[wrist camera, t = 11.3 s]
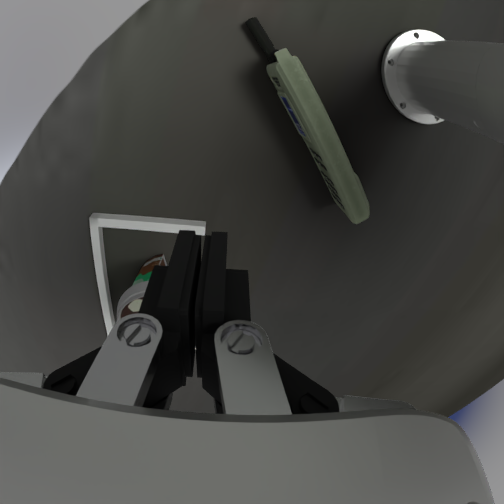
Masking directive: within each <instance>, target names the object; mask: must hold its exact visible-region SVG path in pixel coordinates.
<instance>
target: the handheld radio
mask: <svg viewBox="0 0 504 504" xmlns="http://www.w3.org/2000/svg"><path fill="white" fill-rule="evenodd" d="M246 24H247V26H248V27H249V29H250V31H251V32H252V34H253V35H254V37H255V38H256V40H257V42H258V43H259V45H260V47H261V48H262V50H263V51H264V52H265V53H266V55H267V57H268V60H269V62H270V63H271V64H268V65H267V67H266V70H267V73H268V75H269V77H270V79H271V81H272V82H273V84H274V86H275V88H276V90H277V91H278V93H277V95H278V96H279V98H280V99H281V101H282V103H283V105H284V107H285V108H286V110H287V112H288V114H289V116H290V118H291V119H292V121H293V123H294V125H295V127H296V129H297V131H298V133H299V135H301V136H302V138H303V140H304V142H305V143H306V145H307V147H308V148H309V150H310V152H311V154H312V156H313V158H314V160H315V162H316V164H317V166H318V168H319V170H320V172H321V174H322V176H323V178H324V180H325V183H326V185H327V187H328V189H329V191H330V193H331V195H332V197H333V199H334V201H335V203H336V204H337V205H338V206H339V207H340V209H341V210H342V211H343V212H344V213H345V214H346V216H347V217H348V218H349V219H350V221H351V222H352V223H354V224H359V223H360V222H362V221H364V220H365V219H367V218H368V217H369V214H370V212H369V208H370V207H369V202H368V200H367V197H366V195H365V192H364V190H363V187H362V184H361V182H360V180H359V177H358V175H357V174H355V173H354V171H353V169H352V166H351V164H350V162H349V159H348V157H347V155H346V153H345V150H344V148H343V146H342V144H341V141H340V139H339V137H338V135H337V133H336V131H335V128H334V126H333V124H332V122H331V120H330V118H329V116H328V114H327V112H326V110H325V108H324V106H323V104H322V102H321V100H320V98H319V96H318V94H317V92H316V90H315V88H314V86H313V84H312V82H311V80H310V78H309V77H308V75H307V73H306V71H305V69H304V67H303V66H302V64H301V62H300V60H299V59H298V57H296V56H291V54H290V53H289V52H288V50H287V49H286V48H284V49H281V50H275V48H274V47H273V46H274V45H273V44H272V42H271V40H270V39H269V37H268V35H267V34H266V32H265V31H264V29H263V27H262V26H261V24H260V23H259V21H258V19H257V18H256V17H255V18H250V19H249V20H247V21H246Z"/></svg>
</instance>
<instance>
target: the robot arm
mask: <svg viewBox="0 0 504 504" xmlns="http://www.w3.org/2000/svg"><path fill="white" fill-rule="evenodd" d="M413 35H414V36H413ZM388 61H389V64H388ZM381 74H382V82H383V85H384V89H385V92H386V94H387V96H388V98H389V100H390V101H391V103H392V104H393V106H394V107H395V108H396V109H397V110H398V111H399V112H400V113H401V114H402V115H404V116H405V117H406V118H408V119H410V120H413V121H415V122H418V123H421V124H428V125H429V124H437V123H440V122H442V121H444V120H447V121H449V122H452V123H454V124H457V125H460V126H462V127H465V128H467V129H470V130H472V131H474V132H477V133H479V134H481V135H484V136H486V137H488V138H491V139H493V140H495V141H497V142H499V143H502V144H504V44H503V43H491V42H477V41H446V40H445V39H443V38H442V37H441V36H439V35H437V34H436V33H433V32H431V31H428V30H422V29H414V30H408V31H404V32H402V33H400V34H398V35H397V36H396V37H395V38H393V39H392V41H391V42H390V43H389V45H388V46H387V48H386V50H385V52H384V55H383V59H382V68H381ZM400 104H401V106H400ZM226 254H227V232H212V235H211V236H208V235H206V236H205V242H204V249H203V255H202V261H201V235H196V233H195V231H192V230H179V233H178V236H177V239H176V243H175V246H174V249H173V253H172V256H171V259H170V263H169V266H163V265H155V266H154V268H153V270H152V273H151V276H150V279H149V282H148V285H147V288H146V291H145V294H144V297H143V300H142V303H141V306H140V309H139V312H138V313H137V314H130V315H127V316H125V317H123V318H121V319H120V320H118V321H117V322H116V324H115V325H114V326H113V328H112V330H111V331H110V333H109V335H108V337H107V338H106V340H105V342H104V344H103V346H101V347H99V348H97V349H96V350H94V351H92V352H90V353H88V354H86V355H84V356H82V357H80V358H78V359H76V360H74V361H73V362H71V363H69V364H67V365H65V366H63V367H61V368H59V369H57V370H55V371H54V372H52V373H51V374H50V375H49V376H45V375H44V373H14V372H0V504H494V500H493V497H492V493H491V489H490V486H489V484H488V481H487V478H486V475H485V472H484V469H483V467H482V464H481V462H480V459H479V457H478V455H477V453H476V450H475V448H474V447H473V445H472V443H471V441H470V439H469V437H468V436H467V434H466V433H465V431H464V430H463V429H462V428H461V426H459V425H458V424H457V423H456V422H455V421H453V420H452V419H450V418H448V417H445V416H443V415H439V414H436V413H432V412H427V411H422V410H416V409H415V408H414V407H413V406H412V405H410V404H409V403H407V402H403V401H396V400H384V399H374V398H364V397H355V396H347V395H344V396H343V398H336V397H334V395H332V394H331V393H330V392H329V391H328V390H326V389H325V388H323V387H322V386H320V385H319V384H317V383H316V382H314V381H313V380H311V379H310V378H308V377H307V376H305V375H304V374H302V373H301V372H300V371H298V370H297V369H295V368H294V367H292V366H291V365H289V364H288V363H287V362H285V361H284V360H282V359H281V358H279V357H278V356H277V355H275V354H274V353H273V352H272V349H271V345H270V342H269V339H268V336H267V334H266V332H265V331H264V330H263V329H262V328H261V327H260V326H259V325H257V324H255V323H253V322H251V317H250V299H249V280H248V270H233V269H226ZM195 348H196V361H197V377H200V378H202V386H203V389H205V390H206V391H207V392H208V393H209V394H210V395H211V396H212V397H213V398H214V408H215V414H210V413H194V412H182V411H171V410H169V408H170V405H171V401H172V396H173V393H172V392H174V391H175V390H177V389H178V388H180V387H181V386H185V385H186V377H192V376H193V367H194V357H195Z"/></svg>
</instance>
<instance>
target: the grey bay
mask: <svg viewBox="0 0 504 504" xmlns="http://www.w3.org/2000/svg"><path fill="white" fill-rule="evenodd" d="M89 222H90V232H91V241H92V249H93V257H94V264H95V270H96V277H97V283H98V289H99V295H100V300H101V306H102V311H103V316H104V321H105V326H106V330H107V335H109V333H110V331H111V330H112V328H113V326H114V325H115V320H114V314H113V308H112V302H111V296H110V289H109V283H108V275H107V268H106V259H105V250H104V241H103V230H102V227H109V228H121V229H134V230H146V231H158V232H170V233H179V230H192V231H195V233H196V235H205V229H206V221H196V220H184V219H172V218H160V217H147V216H134V215H120V214H106V213H92V215H91V216H90V217H89ZM195 349H196V348H195Z"/></svg>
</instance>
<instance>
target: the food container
mask: <svg viewBox="0 0 504 504" xmlns="http://www.w3.org/2000/svg"><path fill="white" fill-rule="evenodd" d="M155 265H163V266H167V264H166V261H165V257H164V254H161V255H156V256H154V257H152V258H151V259H149V260H147V261H146V262H145V264H144V265H143V266H142V267H141V269H140V271H139V273H138V275H137V277H136V279H135V281H134V283H133V285H132V287H130V288H129V289H128V290H126V291H125V292H124V293H123V295H122V296H121V298H120V300H119V302H118V306H117V321H118V320H120V319H121V318H123V317H125V316H127V315H130V314H137V313H138V312H139V309H140V306H141V303H142V300H143V297H144V294H145V291H146V288H147V285H148V282H149V279H150V276H151V273H152V270H153V268H154V266H155Z"/></svg>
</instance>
